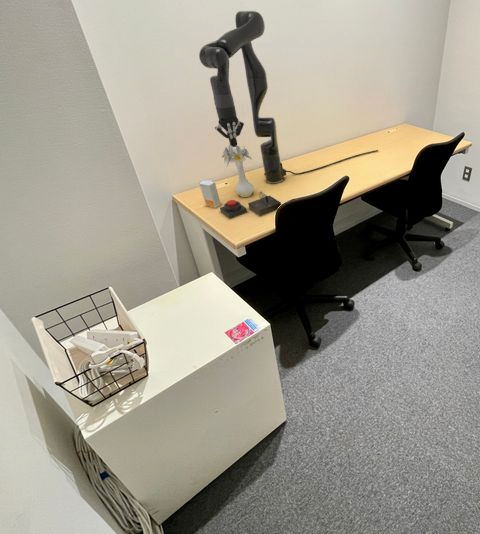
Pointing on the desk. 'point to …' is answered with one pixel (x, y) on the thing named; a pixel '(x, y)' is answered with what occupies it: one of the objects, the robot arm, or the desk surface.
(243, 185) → the flower vase
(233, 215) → the button box
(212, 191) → the cosmetic box
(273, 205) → the rotary lever switch
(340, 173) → the desk surface
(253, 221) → the desk surface
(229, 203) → the button
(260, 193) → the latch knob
